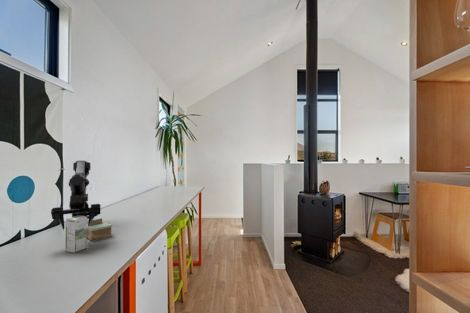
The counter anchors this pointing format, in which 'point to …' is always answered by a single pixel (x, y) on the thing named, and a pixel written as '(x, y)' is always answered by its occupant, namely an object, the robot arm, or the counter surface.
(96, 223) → the lid
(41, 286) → the counter surface
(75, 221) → the syrup box
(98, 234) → the toolbox
